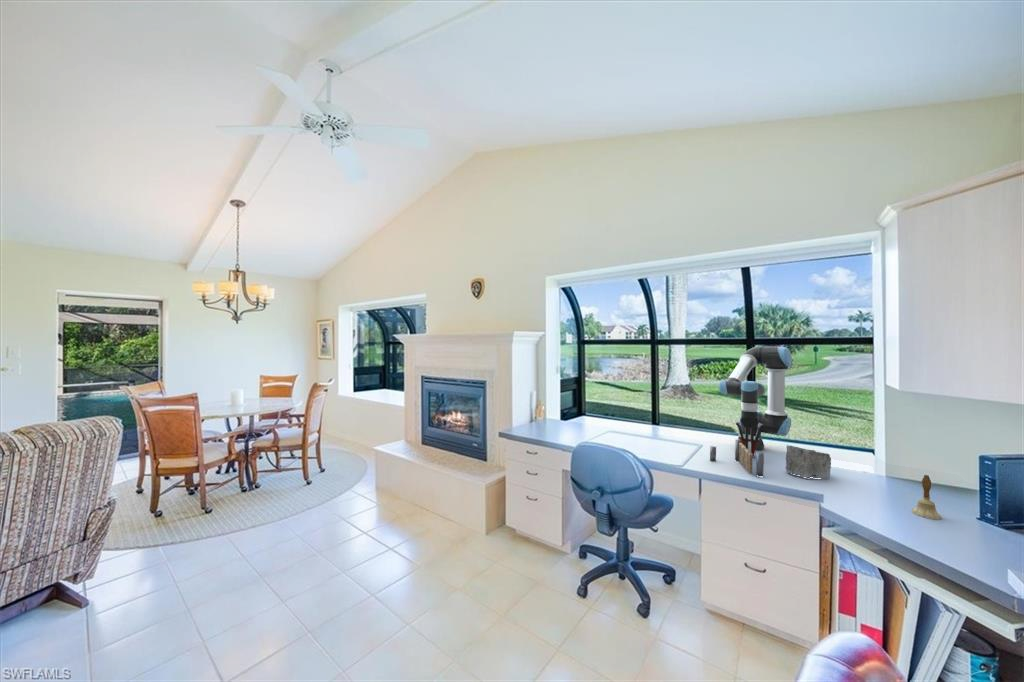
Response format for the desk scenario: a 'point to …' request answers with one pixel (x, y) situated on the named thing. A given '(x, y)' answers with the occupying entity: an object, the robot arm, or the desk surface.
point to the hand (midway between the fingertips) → (749, 454)
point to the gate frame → (759, 457)
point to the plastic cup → (749, 441)
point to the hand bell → (926, 502)
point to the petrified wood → (808, 463)
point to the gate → (745, 457)
